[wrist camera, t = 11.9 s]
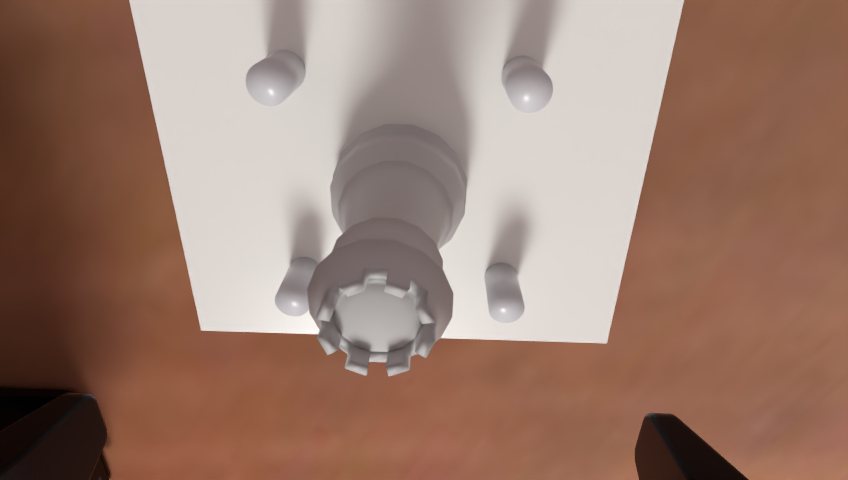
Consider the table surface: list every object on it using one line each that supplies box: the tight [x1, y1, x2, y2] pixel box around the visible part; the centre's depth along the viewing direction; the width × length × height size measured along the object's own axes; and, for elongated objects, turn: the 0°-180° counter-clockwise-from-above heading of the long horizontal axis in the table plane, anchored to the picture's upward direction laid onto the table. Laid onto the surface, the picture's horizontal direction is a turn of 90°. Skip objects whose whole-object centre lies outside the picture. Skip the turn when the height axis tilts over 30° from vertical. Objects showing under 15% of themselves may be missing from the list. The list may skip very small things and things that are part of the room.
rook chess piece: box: [307, 124, 467, 376], centre depth 15 cm, size 4×4×8 cm
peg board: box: [129, 0, 684, 343], centre depth 18 cm, size 16×13×3 cm
